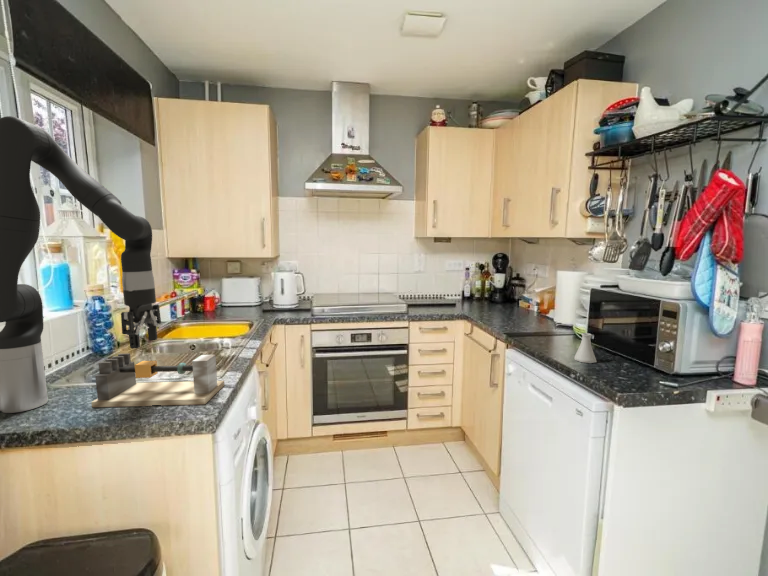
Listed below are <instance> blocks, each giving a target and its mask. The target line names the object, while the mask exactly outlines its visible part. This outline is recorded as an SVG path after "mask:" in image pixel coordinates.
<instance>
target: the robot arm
mask: <svg viewBox="0 0 768 576" xmlns="http://www.w3.org/2000/svg"><path fill="white" fill-rule="evenodd" d="M32 162H33V163H35V164H36V165H38V166H40V167H42V168H44V169H45V170H46V171H48V172H49V173H50V174H52V175H53V176H54V177H55V178H56V179H58V180H59V181H60V182H61V184H62V185H63V186H64V187H65V188H66V190H67V191H68V192H69V194H70V195H71V196H72V197H73V198H74V199H75V200H76V201H78V202H79V203H80V204H81V205H82V206H83V207H85V208H86V209H87V210H89V211H90V212H91V213H93V215H95V216H97V217H98V218H99V220H100V221H101V222H102V223H103V224H104V225H105V226H106V227H107V229H109V230H110V231H111V232H112V233H113V234H114V235H116V236H117V237H119V238H120V239H122V240H124V241H125V243H124V250H123V252H121V255H120V264H121V273H122V274H121V280H122V281H121V283H122V285H121V286H122V293H123V294H122V295H123V303H124V306H126V307H128V308H129V310H128V311H122V312H121V314H120V321H121V333H122V335H127V336H128V340H129V347H130V349H139V348H140V347H141V343H140V334H139V332H140V329H141V328H142V327H143V326H144V324H145V326H146V327H147V335H148V336H147V338H148V341H150V342H151V341H157V340H158V332H157V331H158V330H157V328H158V326H159V324H161V323H162V319H161V312H160V311H161V310H160V305H159V304H157V303H156V302H157V298H156V297H157V296H156V286H155V285H156V284H155V277H154V274H153V265H152V257H151V253H152V244H153V229H152V226H151V223H150V222H149V220H148V219H146V218H144V217H142V216H139V215H135V214H134V213H132V212H131V211H129V210H128V209H127V208H126V207H124V205H123V204H122V202H121V200H120V199H119V198H118V197H117V196H115V195H114V194H113V193H112V192H111V191H110V190H108V189H107V187H105V186H104V185H102V184H101V183H100V182H99V181H97V180H96V179H95V178H94V177H92V176H91V175H90V174H89V173H87V172H86V171H85V170H84V169H83V168H82V167H81V166H80V165H79V164H77V162H75V161H74V160H73V158H72V157H70V155H69V154H67V152H65V151H64V149H63V148H62V146H60V144H58V142H57V141H55V139H54V138H53V137H52V136H51V135H50V133H48V132H47V131H46V130H45V129H44V128H42V127H40V126H38V125H36V124H34V123H32V122H29V121H27V120H25V119H21V118H19V117H16V116H10V115H9V116H8V115H7V116H1V117H0V323H5V324H4V326H3V328H2V329H1V331H0V412H2V413H4V414H12V413H22V412H25V411H26V412H27V411H30V410H33V409H37V408H39V407H41V406H44V405H46V404H47V403H48V402H49V399H48V390H47V389H48V387H47V380H46V379H47V378H46V373H45V372H46V371H45V362H44V354H43V353H44V352H43V346H42V344H43V343H42V337H41V336H42V334H43V331H44V309H43V307H44V306H43V301H42V297H41V294H40V293H39V291H38V290H37V289H36V288H35V287H34V286H32V285H30V284H25V283H19V275H20V271H21V267H22V265H23V264H24V262H25V261H26V259H27V258H28V256H29V255H30V254H31V252H32V250H33V249H34V248H35V246H36V244H37V242H38V238H39V235H40V227H41V211H40V206H39V203H38V200H37V198H36V195H35V193H34V190H33V187H32V183H31V175H30V174H31V166H32ZM18 283H19V284H18Z"/></svg>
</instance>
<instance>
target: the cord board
mask: <svg viewBox="0 0 768 576" xmlns="http://www.w3.org/2000/svg"><path fill="white" fill-rule="evenodd" d="M216 358H217V357H216V354H201V355H199V356H198V357H196V358H195V359H193V360H192V361H191V363H192V364H191V365H189V364H187V363H186V362H179V363H178V365H157V366H151V372H158V373H161V372H162V373H163V372H177V374H178V375H184V374H185V373H186V372H192V376H193V380H191V381H154V382H151V381H150V382H137V380H136V379H137V378H136V375H135V365H136V364H135V361H131V353H118V354H117V355H115V356H112V357H111V358H107V359H105V361H100V362H98V372H99V373H98V374H95V375H94V377H95V384H96V385H95V386H96V395H97V396H96V397H97V398H96V399H94V400H92V401H91V407H92V408H112V407H113V408H116V407H117V408H118V407H119V408H120V407H151V406H152V405H161V406H187V405H188V406H192V405H195V406H196V405H198V406H199V405H206V404H207V403H208V402H209V401H210V400H211V399H212V398H213V397H214V396H215V395H216V394H217V393H218V392H219V391H221V390H222V388H224V386H225V380H218V374H217V361H216V360H217V359H216ZM152 407H153V406H152Z"/></svg>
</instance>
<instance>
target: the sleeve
mask: <svg viewBox="0 0 768 576" xmlns="http://www.w3.org/2000/svg"><path fill="white" fill-rule="evenodd" d="M134 365H135V376H136V379H149V378H152V377H154V376H155V375H157V374H158V373H159V372H151V366H158V360H142V361H140V362H138V363H136V364H134Z"/></svg>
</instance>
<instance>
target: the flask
mask: <svg viewBox="0 0 768 576" xmlns="http://www.w3.org/2000/svg"><path fill="white" fill-rule="evenodd" d="M581 336H582V337H581V342H580V344H579V347H578V349H577V350H576V353H575V355H574V357H573V359H574V360H575V361H576V362H580V363H583V364H585V363H587V364H592V363H597V359H596V356H595V352H594V351H593V346H592V342H591V337H592V336H593V335H592V333H589V332H588V333H587V332H583V333H581Z"/></svg>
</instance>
